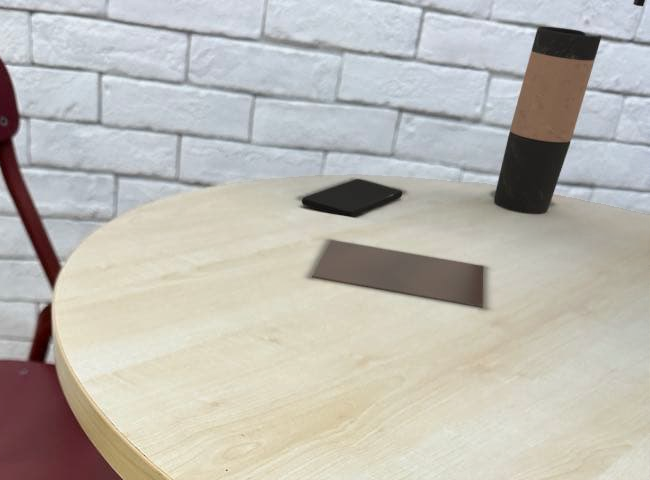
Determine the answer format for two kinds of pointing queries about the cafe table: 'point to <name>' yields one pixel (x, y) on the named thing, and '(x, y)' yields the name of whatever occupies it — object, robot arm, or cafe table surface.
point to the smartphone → (352, 198)
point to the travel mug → (545, 118)
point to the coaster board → (402, 273)
